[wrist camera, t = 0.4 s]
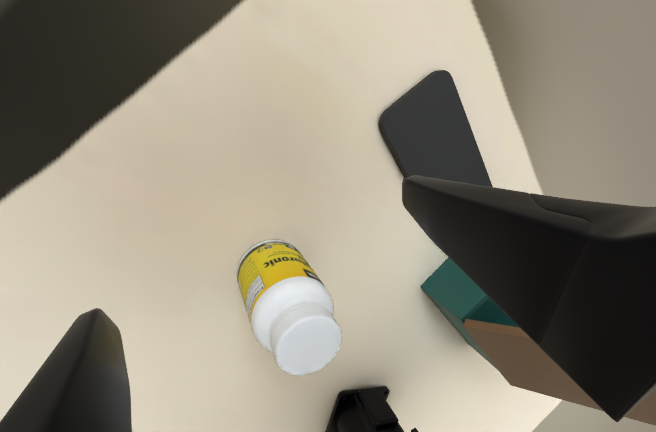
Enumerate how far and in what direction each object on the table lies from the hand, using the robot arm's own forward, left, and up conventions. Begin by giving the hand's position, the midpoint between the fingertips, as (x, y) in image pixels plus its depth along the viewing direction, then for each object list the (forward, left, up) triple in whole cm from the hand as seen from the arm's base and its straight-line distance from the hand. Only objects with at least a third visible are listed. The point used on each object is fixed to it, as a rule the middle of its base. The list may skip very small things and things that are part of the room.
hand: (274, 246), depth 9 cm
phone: (+3, -19, -15) cm, 25 cm away
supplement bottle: (-8, -5, -15) cm, 18 cm away
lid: (-10, -30, -4) cm, 32 cm away
